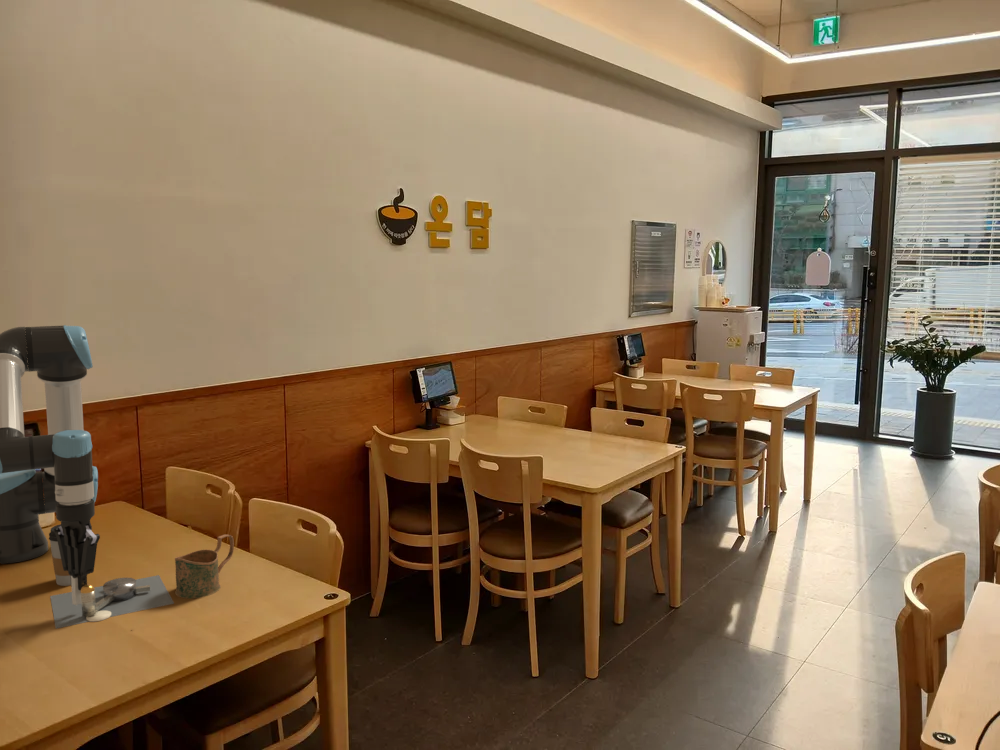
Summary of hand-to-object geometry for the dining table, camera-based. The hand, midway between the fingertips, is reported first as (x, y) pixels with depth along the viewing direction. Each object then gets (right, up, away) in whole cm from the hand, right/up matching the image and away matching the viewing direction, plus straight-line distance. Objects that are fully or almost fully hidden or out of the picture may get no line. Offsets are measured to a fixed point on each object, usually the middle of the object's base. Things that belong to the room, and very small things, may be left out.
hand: (79, 602), depth 175 cm
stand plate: (+3, -3, +8) cm, 9 cm away
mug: (+23, -2, +17) cm, 28 cm away
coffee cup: (-12, -1, +19) cm, 23 cm away
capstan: (+4, -2, +5) cm, 7 cm away
